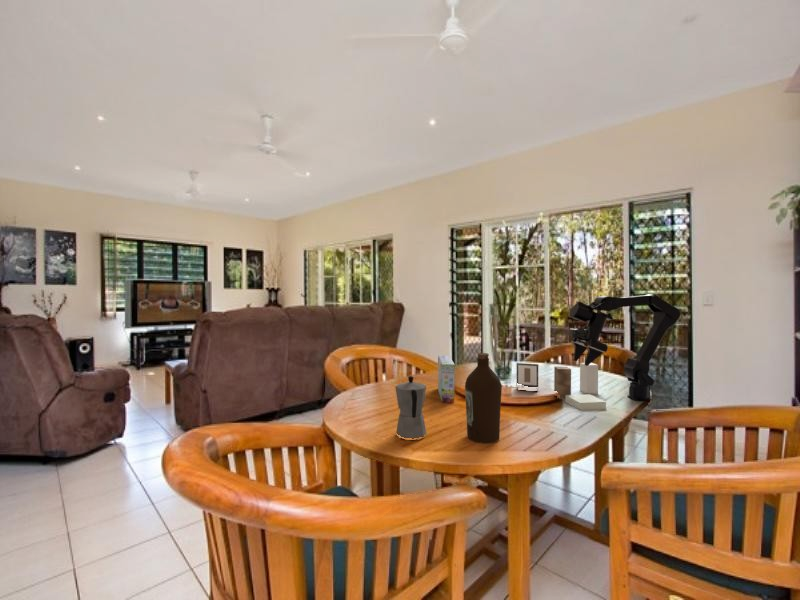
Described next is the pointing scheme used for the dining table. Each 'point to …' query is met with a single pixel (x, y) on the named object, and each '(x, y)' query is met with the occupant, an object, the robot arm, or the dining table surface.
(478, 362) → the olive oil
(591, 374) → the grey block
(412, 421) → the coffeepot
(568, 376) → the walnut block
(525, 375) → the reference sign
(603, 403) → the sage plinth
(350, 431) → the dining table surface
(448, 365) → the snack box
